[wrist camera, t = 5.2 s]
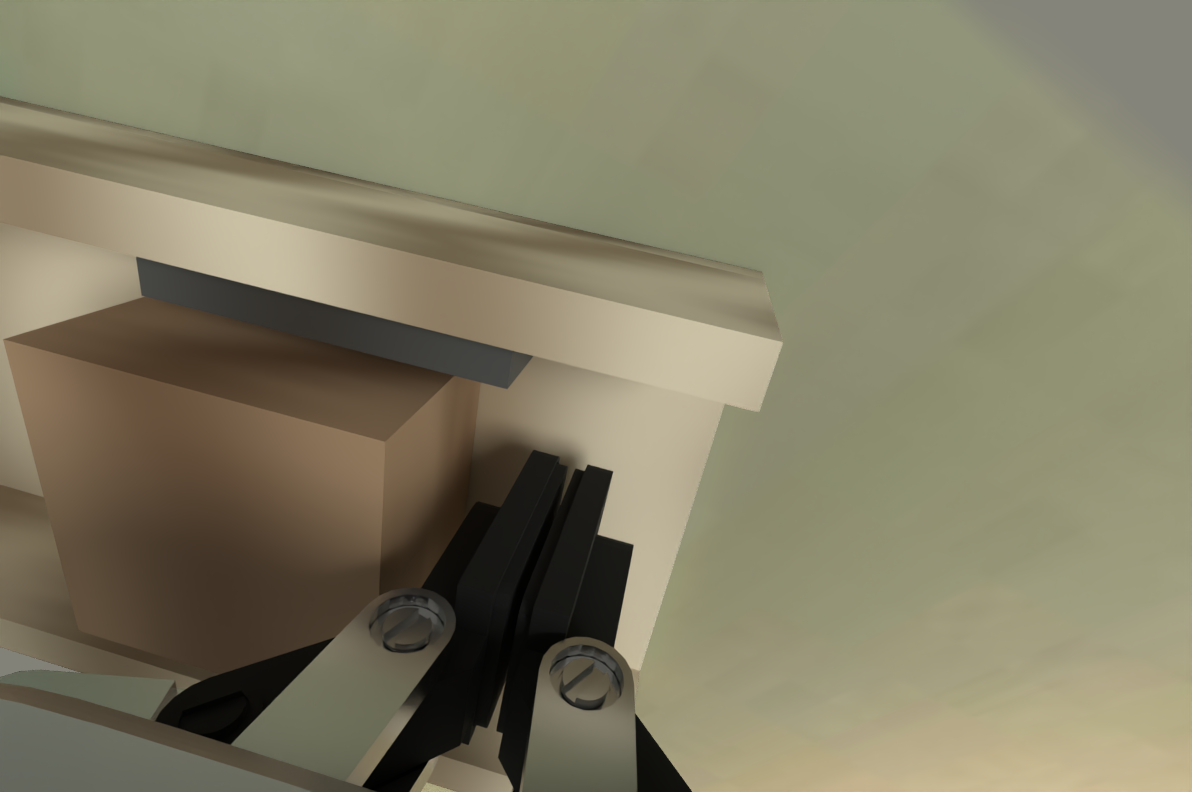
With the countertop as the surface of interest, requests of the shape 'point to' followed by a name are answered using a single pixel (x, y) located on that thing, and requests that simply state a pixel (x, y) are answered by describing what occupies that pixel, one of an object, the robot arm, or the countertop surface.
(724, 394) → the chute
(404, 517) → the block
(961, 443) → the countertop surface
